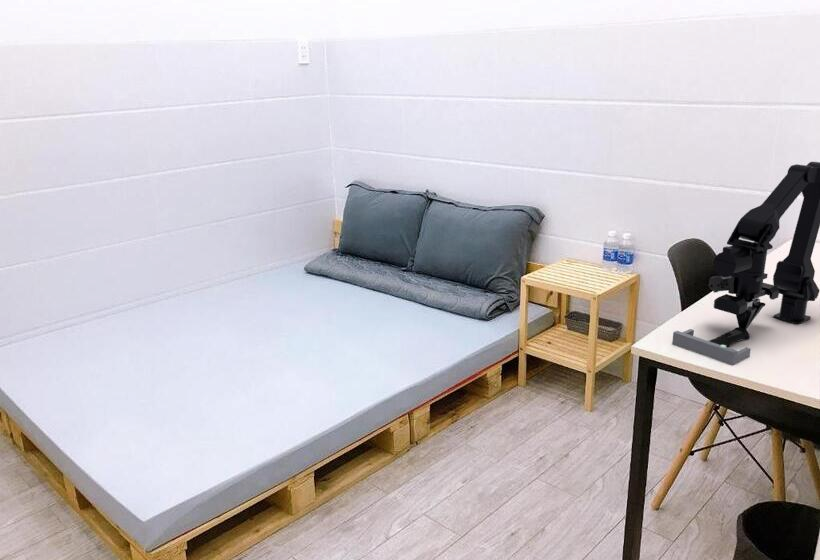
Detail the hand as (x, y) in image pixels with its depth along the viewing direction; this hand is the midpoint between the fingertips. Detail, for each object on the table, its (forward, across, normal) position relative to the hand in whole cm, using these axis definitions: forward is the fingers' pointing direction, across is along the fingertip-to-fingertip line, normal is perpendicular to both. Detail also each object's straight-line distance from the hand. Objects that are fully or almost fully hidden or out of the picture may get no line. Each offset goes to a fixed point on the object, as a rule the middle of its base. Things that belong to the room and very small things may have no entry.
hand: (742, 330), depth 164 cm
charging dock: (+1, +14, 0) cm, 14 cm away
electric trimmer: (+2, +8, 0) cm, 8 cm away
